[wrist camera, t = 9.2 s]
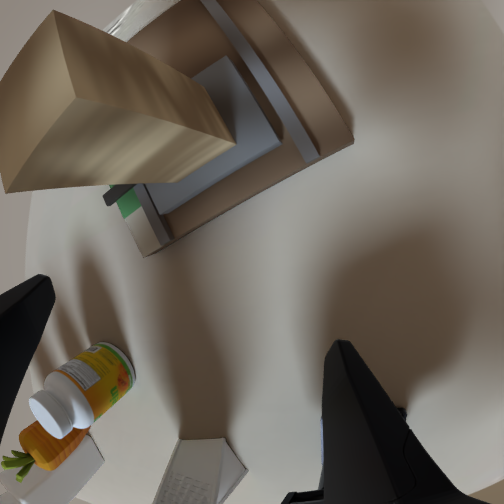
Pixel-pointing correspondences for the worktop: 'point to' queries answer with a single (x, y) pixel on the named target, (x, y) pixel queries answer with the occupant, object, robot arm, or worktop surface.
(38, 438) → the carrot
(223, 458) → the skyscraper
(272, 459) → the worktop surface
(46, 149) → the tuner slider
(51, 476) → the white square bottle
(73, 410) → the supplement bottle
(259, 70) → the board
